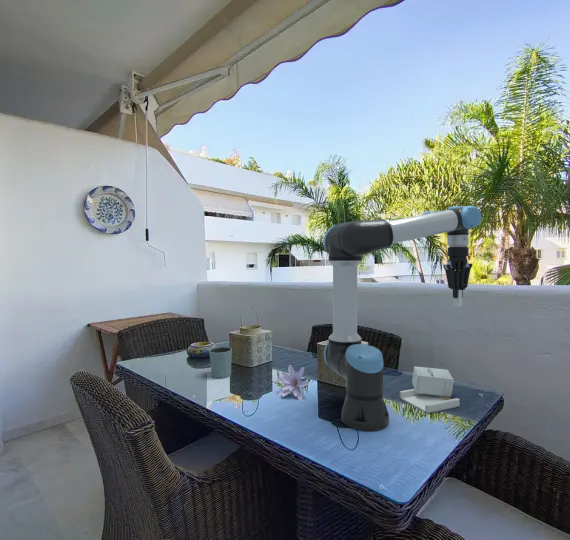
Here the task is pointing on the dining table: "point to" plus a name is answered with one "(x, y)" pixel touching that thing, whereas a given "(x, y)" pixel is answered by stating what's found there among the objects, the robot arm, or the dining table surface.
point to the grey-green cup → (220, 362)
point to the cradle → (428, 401)
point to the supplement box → (432, 381)
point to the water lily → (292, 382)
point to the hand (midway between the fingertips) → (457, 306)
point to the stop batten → (444, 397)
